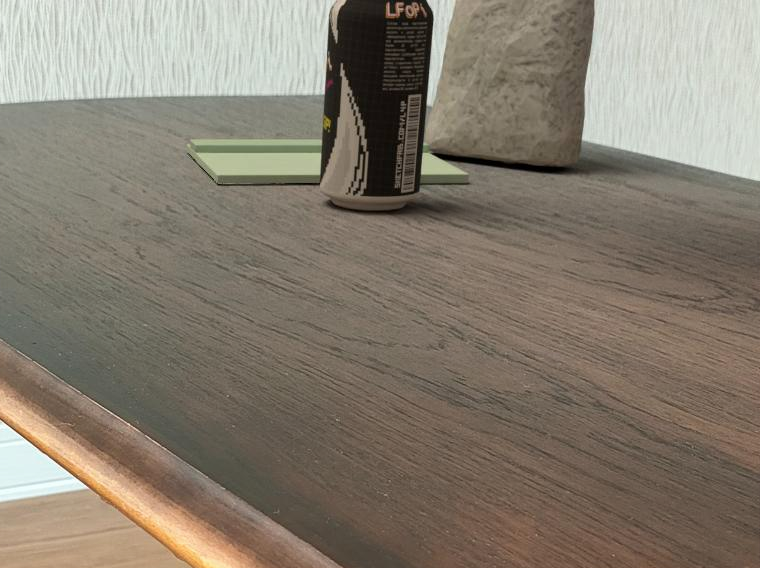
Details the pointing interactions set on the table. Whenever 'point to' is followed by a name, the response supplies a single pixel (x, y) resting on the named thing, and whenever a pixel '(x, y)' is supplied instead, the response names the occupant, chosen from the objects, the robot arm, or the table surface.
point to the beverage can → (375, 102)
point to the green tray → (289, 161)
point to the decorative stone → (514, 81)
